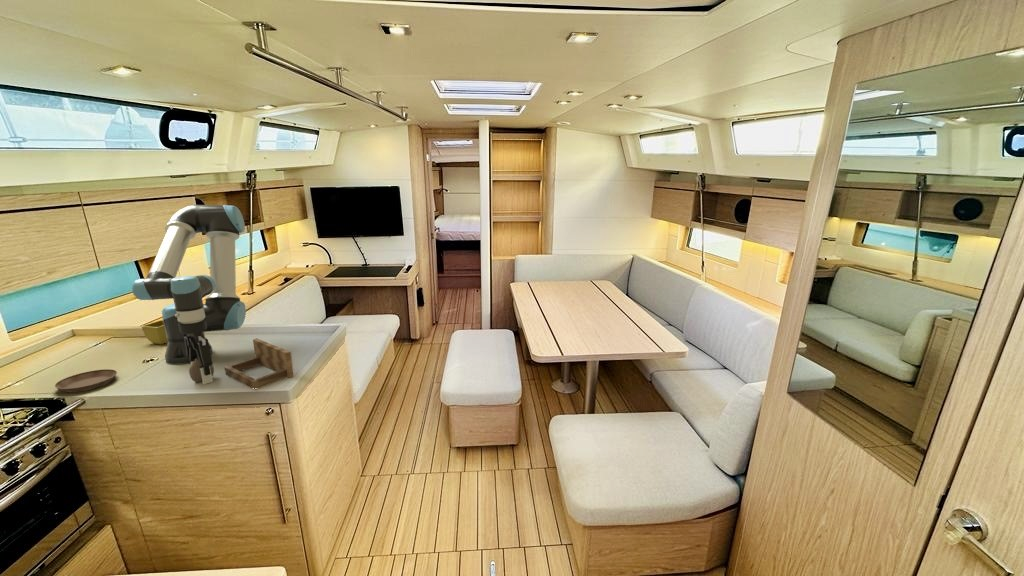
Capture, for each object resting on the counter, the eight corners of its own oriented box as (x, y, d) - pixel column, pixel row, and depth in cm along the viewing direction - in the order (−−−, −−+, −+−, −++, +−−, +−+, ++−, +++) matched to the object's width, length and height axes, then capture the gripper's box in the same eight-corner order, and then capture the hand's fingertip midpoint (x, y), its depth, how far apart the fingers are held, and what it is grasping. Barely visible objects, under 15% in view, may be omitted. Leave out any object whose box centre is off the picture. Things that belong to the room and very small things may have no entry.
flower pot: (144, 345, 168) (140, 325, 166) (165, 337, 176) (161, 319, 174) (161, 346, 167) (157, 327, 165) (181, 339, 175) (177, 321, 173)
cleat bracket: (223, 373, 144) (219, 349, 142) (260, 361, 155) (256, 338, 153) (256, 390, 132) (252, 364, 130) (293, 376, 143) (290, 351, 141)
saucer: (115, 371, 144) (114, 365, 144) (121, 384, 135) (119, 377, 134) (56, 385, 133) (54, 378, 132) (57, 400, 124) (55, 393, 123)
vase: (202, 385, 135) (197, 363, 133) (186, 383, 136) (181, 361, 134) (220, 377, 142) (216, 355, 139) (204, 374, 143) (200, 353, 141)
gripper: (166, 317, 135) (178, 376, 141) (191, 328, 125) (203, 391, 131) (192, 312, 141) (203, 369, 147) (217, 322, 131) (227, 382, 137)
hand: (203, 379), depth 139 cm, fingers open, 7 cm apart
